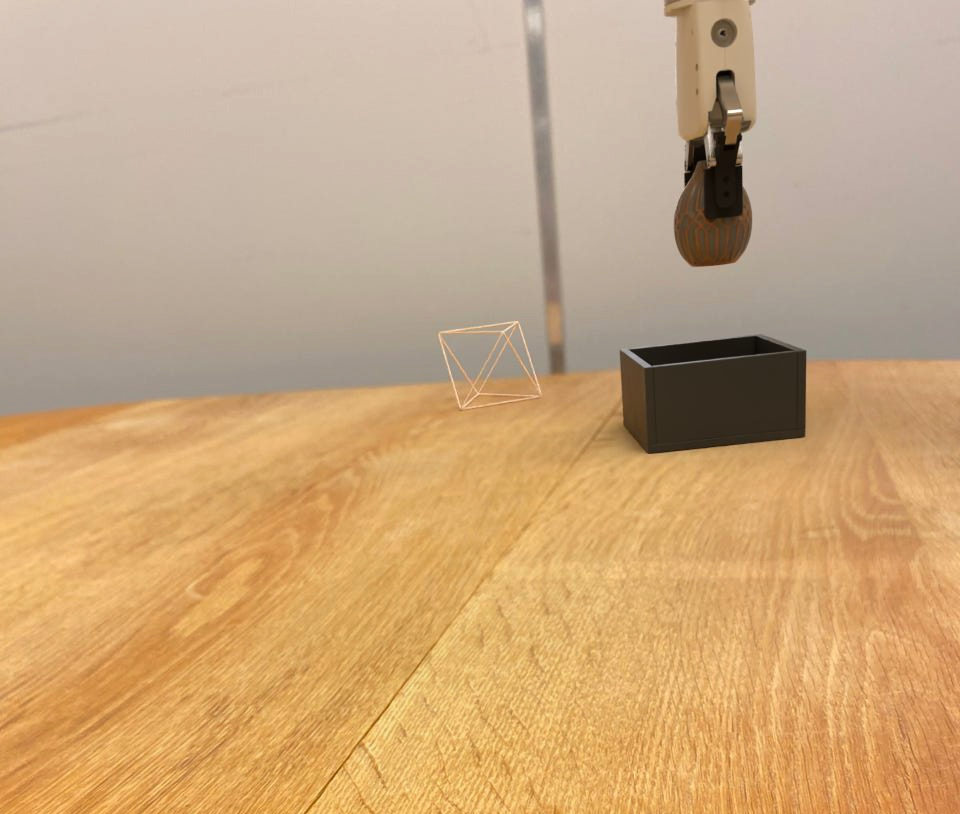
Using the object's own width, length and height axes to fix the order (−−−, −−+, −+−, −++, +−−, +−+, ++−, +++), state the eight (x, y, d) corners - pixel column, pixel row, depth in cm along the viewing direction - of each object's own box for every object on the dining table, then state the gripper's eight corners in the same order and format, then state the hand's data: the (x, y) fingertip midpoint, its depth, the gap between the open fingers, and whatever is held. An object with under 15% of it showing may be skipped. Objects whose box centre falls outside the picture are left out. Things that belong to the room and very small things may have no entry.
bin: (761, 410, 112) (761, 334, 109) (805, 436, 98) (806, 350, 95) (623, 425, 112) (619, 349, 109) (648, 453, 98) (644, 367, 95)
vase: (750, 264, 93) (750, 154, 90) (670, 270, 95) (667, 163, 92) (754, 258, 99) (753, 155, 96) (679, 265, 101) (676, 164, 98)
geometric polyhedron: (439, 401, 139) (430, 330, 136) (517, 388, 142) (510, 318, 138) (467, 414, 128) (458, 337, 124) (551, 400, 131) (545, 324, 127)
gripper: (785, -39, 81) (783, 212, 87) (727, 4, 97) (729, 213, 103) (687, -29, 81) (693, 222, 87) (645, 12, 97) (653, 221, 103)
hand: (712, 215), depth 95 cm, fingers closed on vase, 6 cm apart
